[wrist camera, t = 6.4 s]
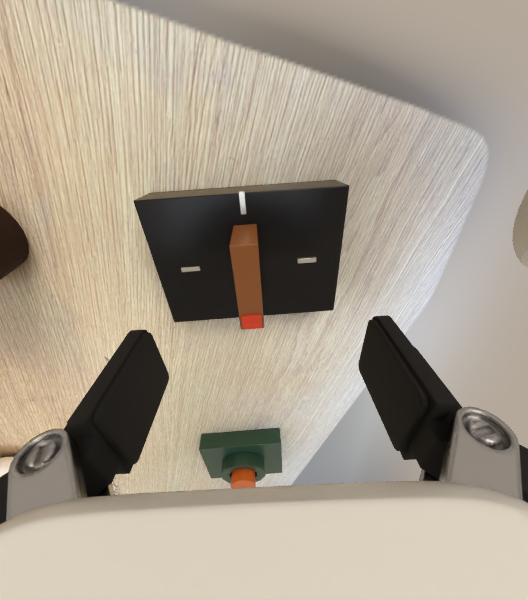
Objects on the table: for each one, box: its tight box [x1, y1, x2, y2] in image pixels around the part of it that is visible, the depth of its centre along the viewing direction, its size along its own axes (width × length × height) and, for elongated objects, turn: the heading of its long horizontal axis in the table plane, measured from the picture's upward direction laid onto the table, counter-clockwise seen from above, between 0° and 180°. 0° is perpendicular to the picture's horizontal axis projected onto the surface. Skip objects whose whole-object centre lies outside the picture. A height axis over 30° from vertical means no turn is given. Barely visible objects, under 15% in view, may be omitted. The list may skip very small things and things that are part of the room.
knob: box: [229, 224, 264, 329], centre depth 16 cm, size 6×2×4 cm, turn 3°
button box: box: [199, 428, 282, 483], centre depth 37 cm, size 12×10×4 cm
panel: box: [134, 180, 349, 322], centre depth 19 cm, size 14×10×3 cm
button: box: [231, 469, 255, 489], centre depth 35 cm, size 4×4×2 cm
